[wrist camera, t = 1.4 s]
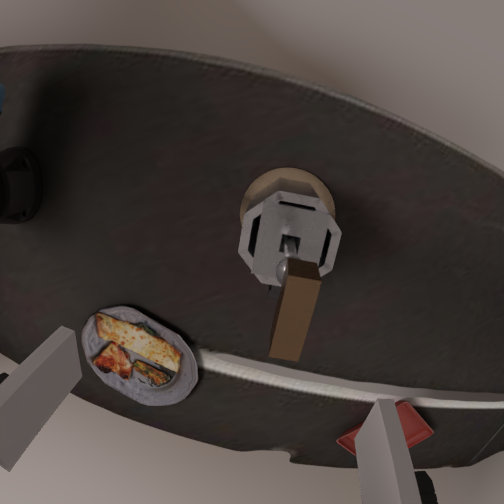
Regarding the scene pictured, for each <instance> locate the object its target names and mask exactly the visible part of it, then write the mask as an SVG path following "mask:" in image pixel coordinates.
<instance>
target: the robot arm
mask: <svg viewBox="0 0 504 504" xmlns="http://www.w3.org/2000/svg"><path fill="white" fill-rule="evenodd" d="M4 97H5V88H4V86H3V85H2V84H1V83H0V114H1V113H2V105H3V101H4ZM41 195H42V179H41V173H40V169H39V166H38V164H37V162H36V160H35V158H34V157H33V155H32V154H31V153H30V152H29V151H28V150H26V149H25V148H22V147H12V148H7V149H4V150H3V151H1V152H0V223H1V224H19V223H22V222H24V221H27V220H28V219H30V218H31V217H32V216H33V215H34V214H35V212H36V211H37V209H38V207H39V204H40V200H41ZM81 377H82V373H81V368H80V362H79V356H78V350H77V344H76V337H75V331H73V330H71V329H68V328H65V327H63V326H61V327H60V328H59V329H58V330H56V331H55V332H54V333H53V334H52V335H51V336H50V337H49V338H48V339H47V340H46V341H45V342H43V343H42V344H41V345H40V346H39V347H38V348H37V349H36V350H35V351H34V352H33V353H32V354H31V355H30V356H29V357H28V358H27V359H26V360H24V361H23V362H22V363H21V364H20V365H19V366H18V367H17V368H16V369H15V370H14V371H13V372H12V373H11V374H10V375H8V374H6V373H2V374H0V466H2V467H3V468H4V469H6V470H7V471H8V472H10V471H11V469H12V468H13V466H14V465H15V463H16V462H17V461H18V459H19V458H20V457H21V455H22V454H23V452H24V451H25V450H26V448H27V447H28V446H29V444H30V443H31V442H32V440H33V439H34V438H35V436H36V435H37V434H38V432H39V431H40V430H41V428H42V427H43V426H44V424H45V423H46V422H47V421H48V419H49V418H50V417H51V415H52V414H53V413H54V411H55V410H56V409H57V408H58V406H59V405H60V404H61V402H62V401H63V400H64V399H65V397H66V396H67V395H68V394H69V392H70V391H71V390H72V389H73V387H74V386H75V385H76V384H77V382H78V381H79V380H80V379H81ZM354 441H355V448H356V456H357V463H358V470H359V478H360V487H361V497H362V504H438V502H437V497H436V494H435V490H434V486H433V482H432V480H431V478H430V477H429V476H428V474H427V473H426V472H425V471H417V472H414V469H413V465H412V462H411V458H410V454H409V450H408V447H407V443H406V440H405V436H404V433H403V429H402V426H401V422H400V419H399V416H398V413H397V409H396V406H395V403H394V400H390V399H377V401H376V402H375V404H374V406H373V408H372V410H371V411H370V413H369V415H368V417H367V418H366V420H365V422H364V423H363V425H362V427H361V429H360V430H359V432H358V433H357V435H356V437H355V438H354Z"/></svg>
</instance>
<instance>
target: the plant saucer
mask: <svg viewBox="0 0 504 504" xmlns="http://www.w3.org/2000/svg"><path fill="white" fill-rule="evenodd" d="M395 406H396V409H397V413H398V416H399V419H400V422H401V426H402V429H403V433H404V436H405V440H406V443H407V447H408V448H410V447H412V446H414V445H415V444H417V443H419V442H421V441H422V440H424V439H426V438H427V437H429V436H431V435H432V434H433V433H434V431H433V430H432V429H431V428H430V427H429V426H428V424H427V423H426V422H425V421H424V420H423V419H422V417H421V416H420V415H419V414H418V413H417V412H416V410H415V409H414V408H413V407H412V406H411V404H410V403H409V402H407V401H398V402H396V403H395ZM364 422H365V421H363V422H362V423H360V424H358V425H356V426H354V427H352V428H350V429H348V430H347V431H345V432H344V433H343V434H342V435H341V436H340V437H339V438H338V439H337V440H336V442H337V443H338V444H340V445H341V446H342V447H344V448H345V449H347V450H348V451H349V452H351V453H352V454H354V455H355V456H356V448H355V441H354V438H355V437H356V435H357V433H358V432H359V430H360V429H361V427H362V425H363V423H364ZM356 457H357V456H356Z"/></svg>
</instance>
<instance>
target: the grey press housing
mask: <svg viewBox="0 0 504 504" xmlns="http://www.w3.org/2000/svg"><path fill="white" fill-rule="evenodd" d="M240 220H241V225H242V231H241V237H240V243H239V250H238V253H239V254H240V256H241V257H242V258H243V260H244V261H245V262H246V264H247V265H248V266H249V268H250V269H251V273H252V274H255V276H256V277H257V278H258V280H259V281H260V282H261V283H264V284H269V291H268V297H269V298H275V299H278V298H279V294H280V290H281V284H280V283H279V282H278V280H277V278H276V267H277V264H278V262H279V261H280V260H281V259H283V258H284V250H279V248H280V243H281V238H282V234H285V235H290V236H295V237H300V241H299V246H298V250H297V257H299V258H300V259H302V260H305V261H310V262H315V263H317V265H318V269H319V273H320V277H321V276H323V275H325V274H326V273H328V272H330V271H331V270H332V269H333V265H334V261H335V257H336V254H337V250H338V246H339V242H340V238H341V234H342V232H341V230H340V229H339V227H338V226H337V224H336V222H335V205H334V201H333V198H332V196H331V194H330V192H329V190H328V189H327V187H326V186H325V185H324V184H323V183H322V182H321V181H320V180H319V179H318V178H317V177H316V176H314V175H313V174H311V173H309V172H307V171H305V170H302V169H298V168H292V167H283V168H277V169H273V170H270V171H268V172H266V173H264V174H262V175H261V176H259V177H258V178H257V179H256V180H255V181H254V182H253V183H252V184H251V185H250V186H249V188H248V189H247V191H246V193H245V195H244V197H243V200H242V203H241V208H240Z"/></svg>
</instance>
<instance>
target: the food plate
mask: <svg viewBox="0 0 504 504" xmlns="http://www.w3.org/2000/svg"><path fill="white" fill-rule="evenodd" d="M81 343H82V347H83V351H84V354H85V358H86V360H87V362H88V364H89V365H90V366H91V367H92V368H93V369H94V372H95V373H96V374H97V375H98V376H99V377H100V378H101V379H102V380H103V381H104V382H105V383H106V384H107V385H109V386H110V387H112V388H113V389H115V390H117V391H119V392H121V393H122V394H124V395H126V396H128V397H129V398H131V399H133V400H136V401H137V402H139V403H141V404H145V405H148V406H149V405H150V406H164V405H171V404H176V403H178V402H180V401H182V400H183V399H185V398H186V397H187V396H188V395H189V393H190V392H191V391H192V389H193V388H194V386H195V385H196V383H197V381H198V372H197V371H198V368H197V362H196V360H195V357H194V355H193V353H192V351H191V350H190V348H189V346H188V345H187V344H186V343H185V341H184V340H183V339H182V338H181V336H179V334H176V333H175V332H174V331H171V330H170V329H167V328H166V327H164V326H163V325H162V324H160V323H158V322H156V321H155V320H153V319H151V318H149V317H147V316H146V315H144V314H142V313H141V312H139V311H137V310H136V309H134V308H130V307H127V306H123V305H117V306H112V307H107V308H106V307H105V308H100V309H98V310H97V312H96V313H93V314H92V315H90V316H89V318H88V320H87V321H86V323H85V325H84V327H83V329H82V334H81ZM122 347H124V348H125V350H124V349H123V348H122ZM135 354H136V355H135ZM155 363H158V364H161V365H163V366H164V367H166V368H168V369H170V370H174V371H176V374H175V376H174V377H173V379H172V380H171V382H170V383H168V384H165V385H164V386H160V387H155V386H156V385H155V386H154V385H153V384H152V385H153V386H154V387H151V386H150V385H149V384H150V383H151V381H153V382H154V383H156V384H158V386H159V385H160V384H162V383H163V382H165V383H166V382H167V381H168V380H169V379H170V375H168V374H167V373H166V372H165V371H163V370H161V369H160V368H159V367H160V366H159V365H157V366H156V364H155ZM134 377H135V379H134ZM138 378H140V379H141V381H142V380H143V381H144V382H145V383H146V384H144V383H141V384H140V381H139V380H138ZM146 379H148V380H151V381H150V383H149V381H148V380H146ZM137 380H138V381H137ZM146 381H148V382H146ZM135 382H136V383H137V382H138V384H136V383H135ZM147 383H149V384H147ZM142 384H143V385H142Z"/></svg>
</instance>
